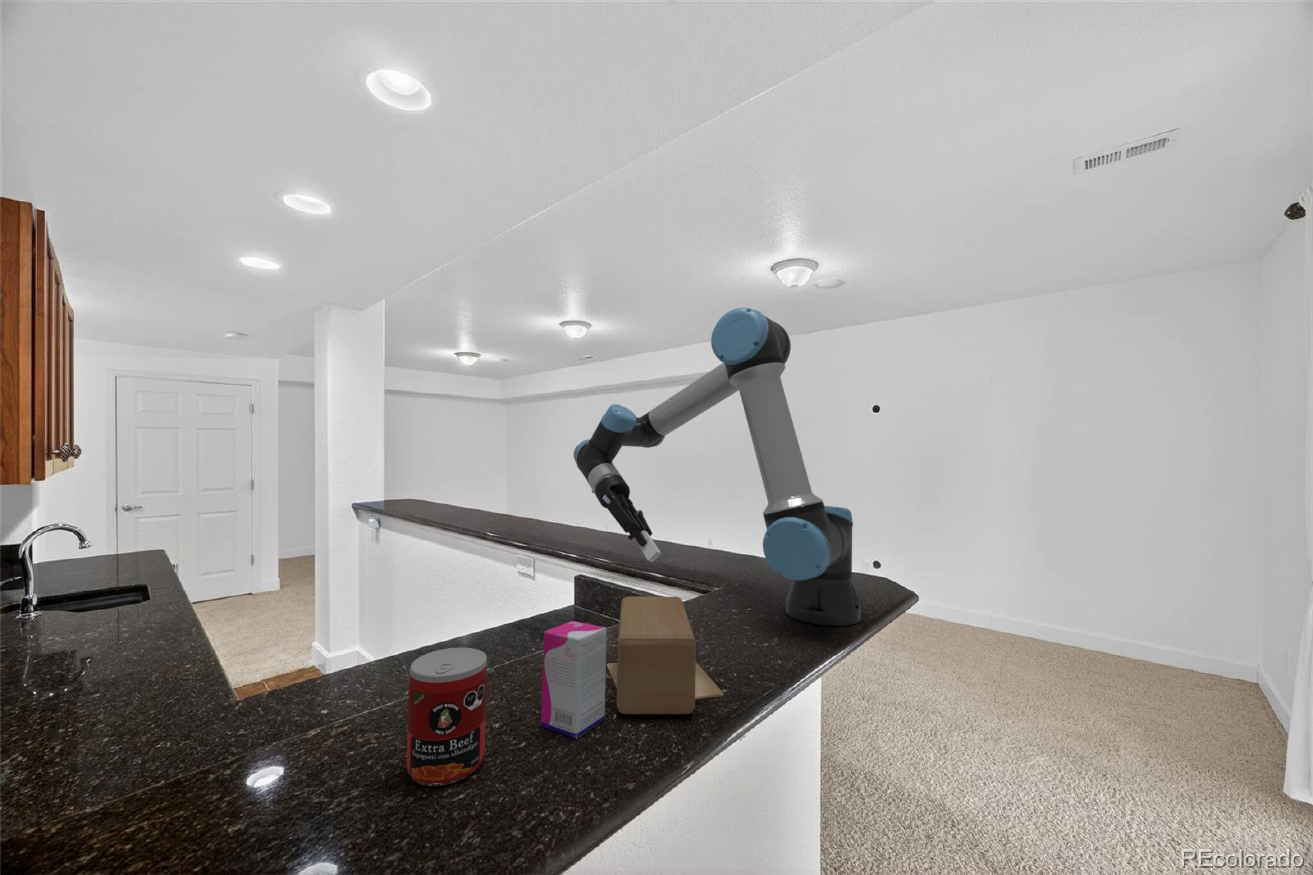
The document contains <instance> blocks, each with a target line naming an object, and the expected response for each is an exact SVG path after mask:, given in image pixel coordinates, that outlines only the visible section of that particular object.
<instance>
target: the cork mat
mask: <svg viewBox="0 0 1313 875" xmlns="http://www.w3.org/2000/svg"><path fill="white" fill-rule="evenodd" d="M617 664H618V662H612V663H611V662H610V663H606V667H607V669H608V671H609V674H610V676H611V679H612V681H613V683H614V685H615V687H616V689H617ZM724 696H725V694H724V692H723V691H722V690H721V689H720V687H718V686H717V684H716V683H715V681H713V679H712V678H711V677H710V676H709V675H708V674H707V673H706V672H705V670H704V669H703V668H702V667H701V666H700V665H699V663H698V662H696V674H695V700H698V699H699V700H700V699H701V700H702V699H709V698H717V697H724Z"/></svg>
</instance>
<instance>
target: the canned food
mask: <svg viewBox="0 0 1313 875" xmlns="http://www.w3.org/2000/svg"><path fill="white" fill-rule="evenodd" d="M487 677H488V660H487V654H486V653H485V652H483V650H479V649H476V648H472V647H450V648H443V649H437V650H434V651H431V652H427V653H425V654H423V655H421V656H420V657H417V658H416V659H415V660H413V662H412V663H411V664H410V670H409V678H408V679H409V681H408V707H407V708H408V709H407V712H408V713H407V741H406V742H407V743H406V744H407V745H406V770H407V774H408V776H409V775H410V776H411V777H412V778H413V779H414V780H416V781H420V782H423V783H447V782H450V781H452V780H456V779H459V778H463V777H465V776H466V775H468V774H471V773H472V772H473V771H474V770H475V769H477V768H478V767H479V768H480V766H481V765H480V764H482V761H483V758H484V755H485V746H486V745H485V743H486V714H487V713H486V712H487V711H486V710H487V709H486V708H487V687H488V686H487V683H488V682H487V680H488V678H487ZM479 765H480V766H479ZM479 768H478V769H479ZM478 769H477V770H478ZM471 775H472V774H471Z"/></svg>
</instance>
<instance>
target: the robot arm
mask: <svg viewBox="0 0 1313 875" xmlns="http://www.w3.org/2000/svg"><path fill="white" fill-rule="evenodd" d="M710 345H711V349H712V352H713V354H714V355H715V356H716V358H717V359H718V360H719V361H720V362H721V364H719V365H718V366H716V367H715V368H712V369H711V370H710V371H708V372H707V373H706V374H703V376H701V377H699V378H697V379H696V380H695V381H693V382H692V383H690V384H689V385H687V386H686V387H684V388H682V389H681V390H679V391H678V392H677V393H675V394H674V395H672V396H670V397H669V398H667V399H665V401H663V402H661V403H660V404H658V405H657V406H656V407H653V408H652V409H651V410H650V411H648V412H646V413H644V414H643V415H641V416H639V417H637V416H636V414H635V413H634V412H633V411H632V410H630V409H629V408H627V407H625V406H622V405H621V404H616V403H615V404H611V405H609V407H608V408H607V410H606V411H605V413H604V414H603V415H602V416H601V419H600V421H599V423H598V425H597V427H596V428H595V430H594V432H593V434H592V435H591V437H590V438H589V439H584V440H582V441H581V442H580V443H579V444H577V445H576V446H575V448H574V451H573V459H574V461H575V464H576V467H577V469H578V470H579V472H581V474H582V475H583V477H584V478H585V480H586V482H587V483H588V485H589V487H590V488H591V493H592V494H595V498H596V499H597V500H598V502H599V503H600V505H601V507H603V508H605V509H606V510H607V511H608V512H609V513H610V514H611V516H612V517H613V518H614V519H615V521H616V522H617V524H619V527H621V529H622V530H623V531H624V532H625V533H626V534H629V535H628V537H627V538H628V540H630V541H632V540H633V539H634V541H635V543H636V544H637V546H638V547H639V549H640V550H641V552H642V554H643V555H644V557H645V558H646V560H647V561H648V562H650V563H654V562H655V561H656V560H657V559H658V557H660V556H661V555H662V552H661V551H660V549H659V547H658V546H657V544H656V543H655V542H654V540H653V538H652V535H653V532H652V529H651V528H650V526H649V524H648V522H647V520H646V518H645V516H644V513H643V511H642V510H641V509H637V508H636V507H635V506H634V504H633V503H634V502H633V501H632V500H631V499H630V494H631V489H630V487H629V485H628V484H627V481H626V480H625V479H624V478H623V476H622V475H621V473H620V472H619V470H618V469H617V467H616V466H615V465H614V463H613V461H614V460H615V458H616V456H617V455H618V453H619V452H620V450H621V449H622V447H638V448H647V449H649V448H650V449H651V448H655V447H658V446H659V445H660V446H661V444H662V443H663V441H664V439H665V438H666V437H665V436H667V435H669V434H670V433H672V432H674V431H676V430H677V429H679V428H680V427H681V426H683V425H685V424H687V423H688V422H690V421H691V420H693V419H695V418H697V417H698V416H700V415H701V414H703V413H705V412H707V411H708V410H709V409H711V408H713V407H715V406H716V405H718V404H720V403H721V402H722V401H724V400H726V399H727V398H729V397H731V396H732V395H734V394H735V393H738V392H739V395H740V399H741V403H742V407H743V410H744V414H745V418H746V422H747V426H748V430H749V433H750V438H751V441H752V445H753V448H754V449H753V450H754V452H755V453H754V454H755V457H756V461H757V464H758V469H759V473H760V476H761V477H760V478H761V482H762V484H763V488H764V491H765V492H764V493H765V496H766V500H767V506H766V507H765V509H764V511H763V512H762V514H763V515H762V516H763V519H764V524H765V527H766V531H765V533H764V536H763V539H762V552H763V554H764V558H765V560H766V561H767V563H768V565H769V566H770V567H771V568H772V569H773V571H775V573H777V574H779V575H780V576H781V577H784V578H785V579H788V580H792V583H791V585H790V589H789V591H788V595H787V598H786V600H785V613H786V614H787V616H789V617H791V618H792V619H795V620H797V621H800V622H804V623H809V624H813V625H820V626H831V627H833V626H835V627H837V626H838V627H842V626H851V625H855V624H858V623H859V622H861V620H862V617H861V616H862V614H861V613H862V612H861V610H862V609H861V605H860V602H859V600H858V599H859V598H858V596H857V593H856V589H855V588H854V583H853V573H852V572H853V570H852V569H853V527H854V521H853V517H852V516H853V515H852V512H851V510H850V509H848V508H845V507H843V506H842V507H840V506H832V505H825V504H824V500H823V499H822V498H820V497H819V496H817V495H815V493H813V490H812V487H811V483H810V481H809V476H808V473H807V470H806V465H805V462H804V458H803V455H802V451H801V447H800V444H799V439H798V437H797V436H798V435H797V432H796V429H795V426H794V421H793V418H792V415H791V411H790V408H789V404H788V400H787V397H786V394H785V390H784V386H783V383H782V378H781V376H782V375H783V372H784V371H785V369H786V363H787V362H788V359H789V357H790V353H791V349H792V348H791V347H792V344H791V339H790V336H789V334H788V332H787V331H786V329H785V328H784V327H783V326H782V325H780V324H779V323H777V322H775V321H774V320H772V319H770V318H769V317H767V316H766V315H764V313H762V312H761V311H759V310H757V309H752V308H751V307H743V306H741V307H736V308H733V309H731V310H729V311H727V312H725V313H724V314H723V315H722V316H721V317H720V318H719V319H718V320H717V323H716V324H715V326H714V328H713V330H712V333H711V337H710Z"/></svg>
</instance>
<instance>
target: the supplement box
mask: <svg viewBox="0 0 1313 875" xmlns="http://www.w3.org/2000/svg"><path fill="white" fill-rule="evenodd" d="M607 629H608V628H607V627H604V626H598V625H594V624H590V623H584V622H580V621H574V620H571V621H569V622H566V623H563V624H560V625H559V626H556V627H553V628H550V629H547V630H545V631H543V656H542V658H543V663H542V686H541V687H542V688H541V691H542V692H541V693H542V694H541V717H540V719H541V721H540V722H541V723H540V724H541V725H540V726H541V727H543V728H545V729H547V730H551V731H553V732H557V733H559V734H562V735H565V736H567V737H571V738H573V739H576V740H578V739H579V738H581V737H582V736H583V735H584V734H586V733H588V732H589V731H590V730H591V729H593V728H594V727H596V726H598V725H599V724H600V723H602V722H603V721H605V717H606V716H605V715H606V676H607V675H606V671H607V669H606V667H607Z"/></svg>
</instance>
